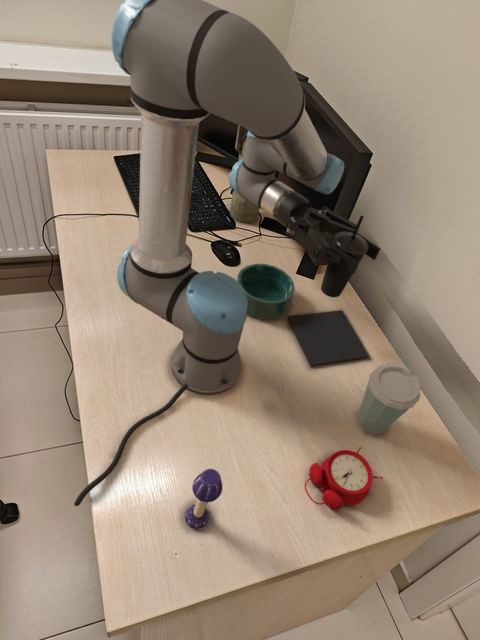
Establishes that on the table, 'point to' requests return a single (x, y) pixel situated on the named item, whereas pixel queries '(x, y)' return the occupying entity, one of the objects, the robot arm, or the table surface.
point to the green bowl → (266, 290)
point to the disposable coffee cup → (387, 397)
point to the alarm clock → (342, 479)
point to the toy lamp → (203, 497)
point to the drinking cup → (335, 273)
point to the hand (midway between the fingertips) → (366, 261)
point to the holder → (326, 338)
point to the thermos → (239, 205)
